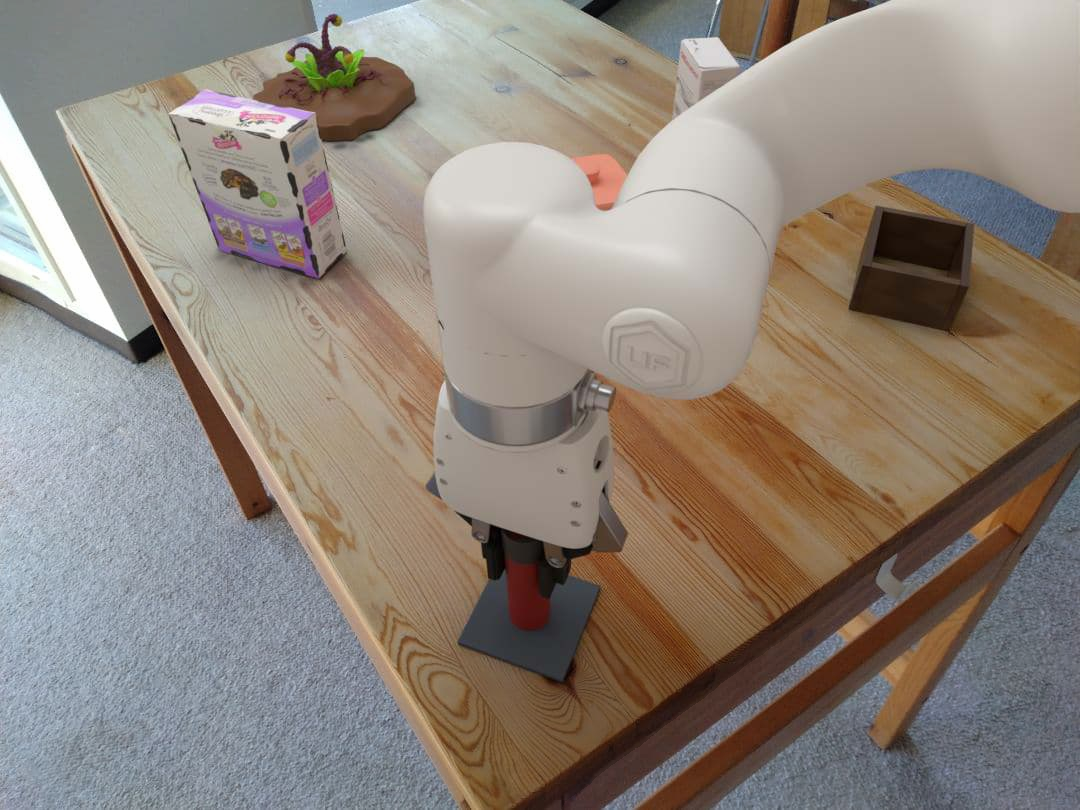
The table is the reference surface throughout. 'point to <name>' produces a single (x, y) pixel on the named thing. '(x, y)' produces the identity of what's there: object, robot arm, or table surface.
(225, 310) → the table surface
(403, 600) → the table surface
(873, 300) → the wooden box
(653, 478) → the table surface
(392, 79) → the plant
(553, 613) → the desk pad
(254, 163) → the candy box
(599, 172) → the teapot
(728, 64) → the ink box
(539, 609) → the marker pen
